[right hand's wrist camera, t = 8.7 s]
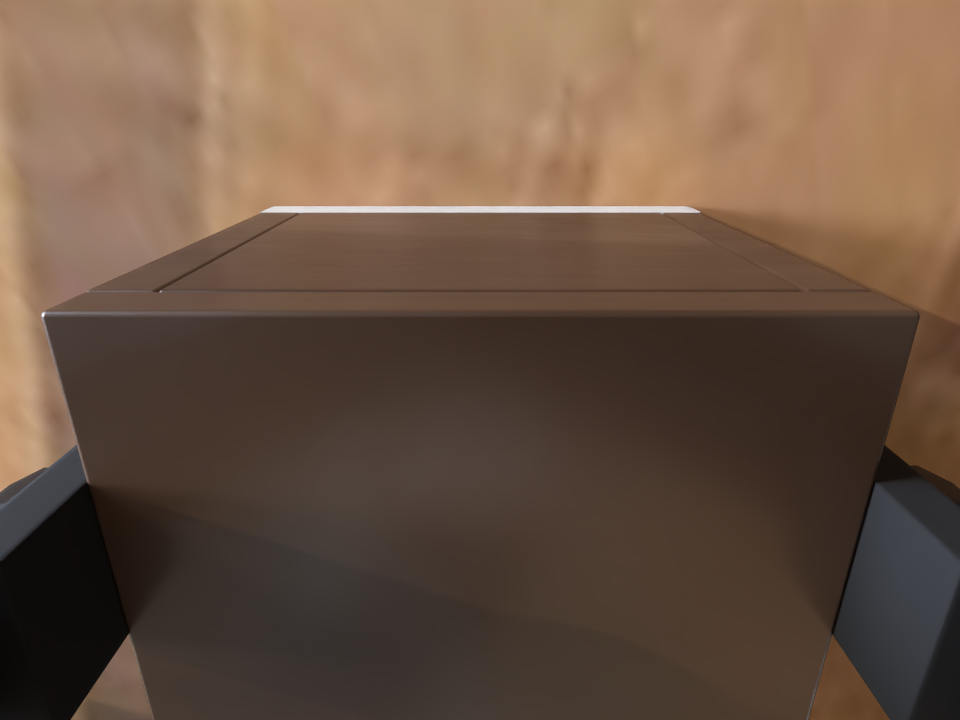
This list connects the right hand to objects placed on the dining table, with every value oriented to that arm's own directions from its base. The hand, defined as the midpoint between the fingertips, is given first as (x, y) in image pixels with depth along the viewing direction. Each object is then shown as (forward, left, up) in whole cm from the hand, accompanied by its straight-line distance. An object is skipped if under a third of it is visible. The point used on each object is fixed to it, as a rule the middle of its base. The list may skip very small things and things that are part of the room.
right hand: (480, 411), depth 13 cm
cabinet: (+2, -3, -4) cm, 5 cm away
